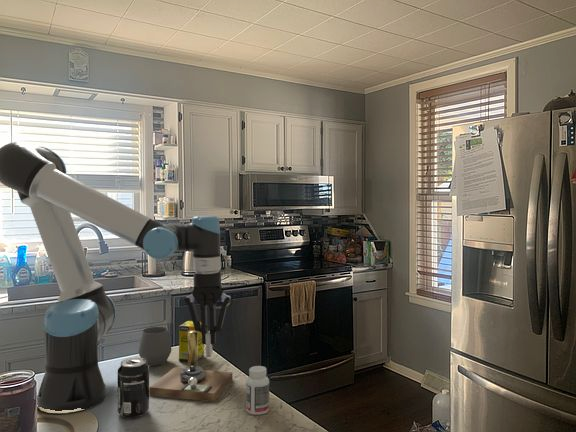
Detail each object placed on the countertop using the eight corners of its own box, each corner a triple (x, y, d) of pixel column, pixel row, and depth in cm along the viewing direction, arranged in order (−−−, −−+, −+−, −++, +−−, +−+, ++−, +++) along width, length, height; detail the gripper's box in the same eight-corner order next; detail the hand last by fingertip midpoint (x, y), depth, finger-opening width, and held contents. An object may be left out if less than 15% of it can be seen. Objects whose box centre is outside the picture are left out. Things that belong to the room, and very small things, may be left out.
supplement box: (197, 363, 138) (197, 326, 137) (178, 361, 139) (178, 325, 139) (204, 356, 144) (204, 321, 143) (186, 354, 145) (186, 320, 144)
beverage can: (128, 405, 109) (128, 355, 108) (154, 408, 107) (154, 357, 107) (111, 419, 102) (111, 365, 102) (139, 422, 101) (139, 368, 100)
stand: (149, 395, 115) (149, 385, 115) (174, 374, 128) (174, 365, 128) (213, 401, 111) (213, 391, 111) (232, 379, 125) (232, 371, 125)
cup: (134, 361, 138) (134, 328, 138) (164, 355, 144) (164, 324, 143) (145, 371, 131) (145, 336, 130) (176, 364, 136) (176, 331, 136)
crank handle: (206, 389, 113) (206, 350, 113) (179, 391, 112) (179, 351, 111) (204, 363, 131) (204, 329, 130) (181, 365, 129) (181, 330, 129)
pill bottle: (272, 406, 109) (272, 365, 109) (264, 417, 104) (265, 374, 103) (250, 403, 110) (250, 363, 110) (242, 413, 105) (242, 371, 105)
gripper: (180, 274, 124) (183, 360, 125) (227, 273, 123) (229, 360, 124) (187, 269, 131) (189, 351, 132) (232, 269, 131) (234, 350, 132)
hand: (209, 355), depth 128 cm, fingers closed
